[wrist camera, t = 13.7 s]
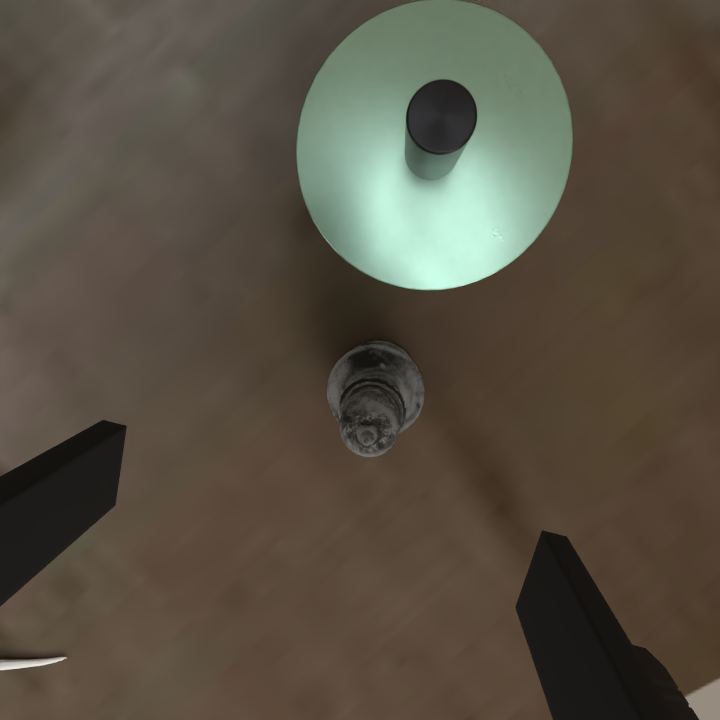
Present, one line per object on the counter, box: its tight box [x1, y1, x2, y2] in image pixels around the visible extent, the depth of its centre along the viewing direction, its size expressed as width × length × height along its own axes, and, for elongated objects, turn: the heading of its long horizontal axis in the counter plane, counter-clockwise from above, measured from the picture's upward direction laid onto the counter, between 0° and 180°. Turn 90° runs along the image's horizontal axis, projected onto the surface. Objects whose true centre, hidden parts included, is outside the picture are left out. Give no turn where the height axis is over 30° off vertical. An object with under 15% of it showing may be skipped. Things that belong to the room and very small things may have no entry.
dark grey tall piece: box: [327, 340, 425, 457], centre depth 28 cm, size 6×6×12 cm
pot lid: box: [296, 0, 573, 291], centre depth 20 cm, size 12×12×7 cm
